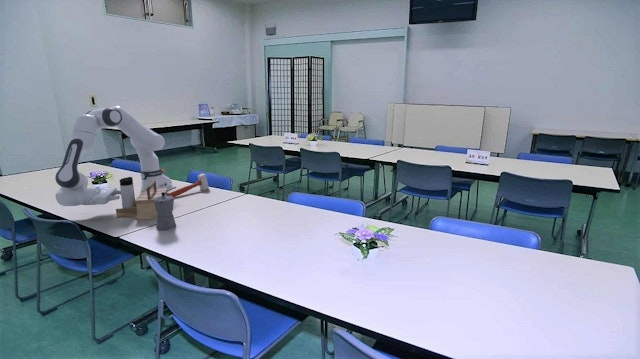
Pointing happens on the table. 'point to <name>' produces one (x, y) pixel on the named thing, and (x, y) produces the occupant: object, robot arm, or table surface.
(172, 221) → the coffeepot
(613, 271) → the table surface
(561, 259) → the table surface
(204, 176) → the mallet
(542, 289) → the table surface
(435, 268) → the table surface
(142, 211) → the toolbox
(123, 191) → the travel mug
